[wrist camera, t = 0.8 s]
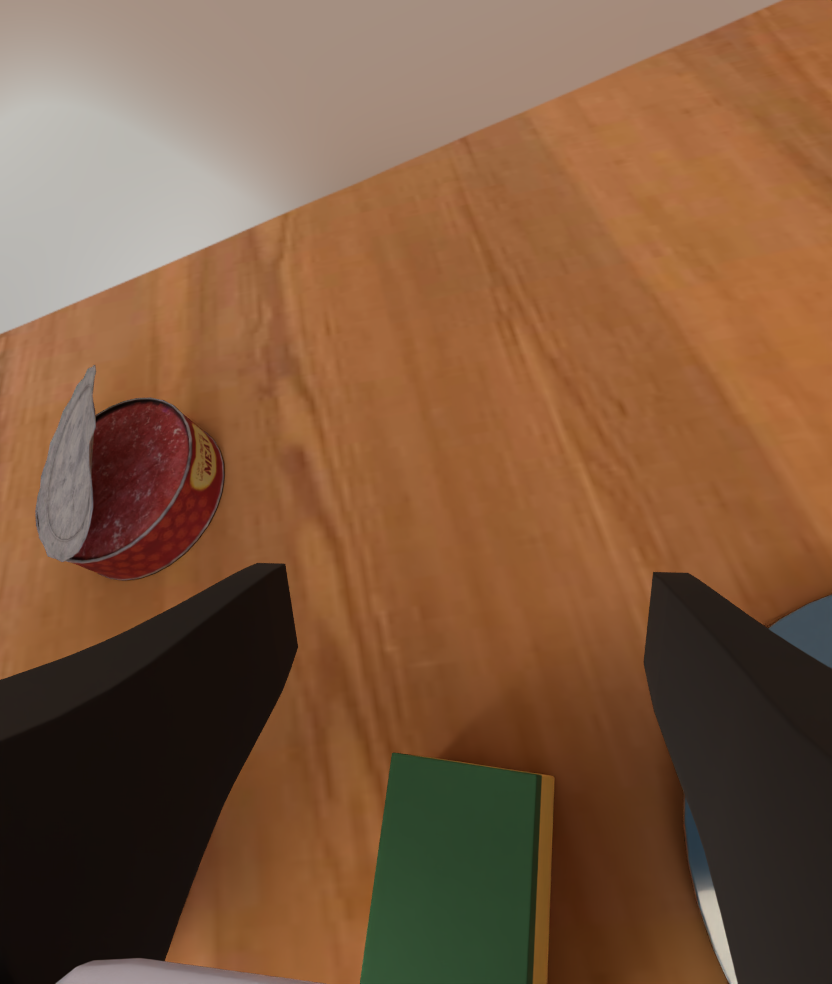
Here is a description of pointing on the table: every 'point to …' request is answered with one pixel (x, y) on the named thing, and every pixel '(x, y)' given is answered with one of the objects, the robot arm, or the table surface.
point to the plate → (813, 629)
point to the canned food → (126, 485)
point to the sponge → (461, 876)
